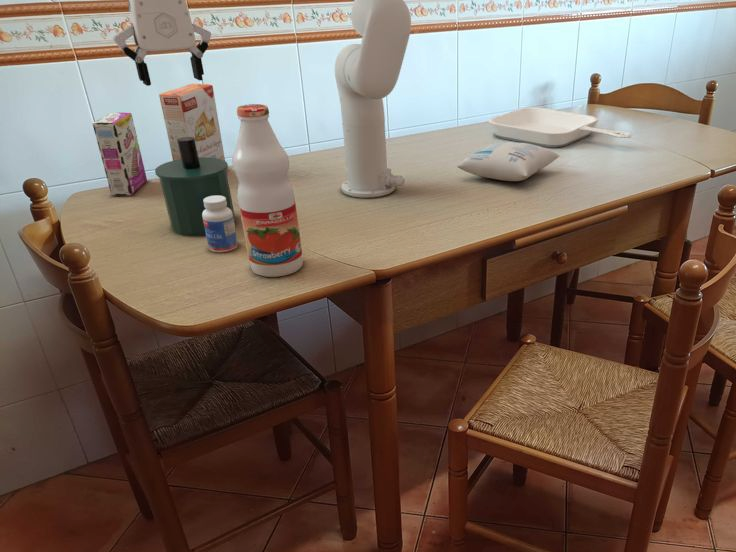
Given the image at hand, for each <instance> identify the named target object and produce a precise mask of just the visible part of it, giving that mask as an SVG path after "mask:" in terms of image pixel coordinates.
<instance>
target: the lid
mask: <svg viewBox="0 0 736 552" xmlns="http://www.w3.org/2000/svg"><path fill="white" fill-rule="evenodd" d="M177 142H178V146H179V151H180V155H181V159H179V160H174V161H173V160H171V161H167V162H164V163H162V164H160V165H158V166H157V167H156V168H155V169H154V172H155V175H156V176H157V177H158V178H159V177H160V178H162V179H167V180H178V181H183V180H197V179H204V178H209V177H213V176H216V175H219V174H221V173H223V172H225V171H226V172H227V170H228V168H229V164H228V162H227V161H226V160H225V161H224V160H221V159H217V158H208V157H198V153H197V148H196V143H195V138H194V137H181V138H178V139H177ZM160 178H159V179H160Z"/></svg>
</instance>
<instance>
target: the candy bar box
mask: <svg viewBox="0 0 736 552" xmlns="http://www.w3.org/2000/svg"><path fill="white" fill-rule="evenodd" d="M92 127H93V132H94V134H95V135H94V136H95V138H96V143H97V146H98V150H99V155H100V157H101V161H102V163H103V169H104V172H105V176H106V180H107V183H108V187H109V191H110V195H111V197H131V196H133V195H135V193H136V192H138V191H139V190H140V189H141V188H142V187H143V186H144V185H145V184H147V182H148V178H147V174H146V169H145V165H144V162H143V157H142V152H141V149H140V144H139V139H138V135H137V130H136V127H135V122H134V119H133V114H132V112H110V113H108V114H107V115H105V116H103V117H101V118H99V119H98V120H96V121H94V122H92Z"/></svg>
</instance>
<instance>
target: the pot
mask: <svg viewBox="0 0 736 552" xmlns="http://www.w3.org/2000/svg"><path fill="white" fill-rule="evenodd" d="M158 178H159V183H160V186H161V190H162V194H163V198H164V201H165V202H164V203H165V206H166V211H167V214H168V219H169V222H170V227H171V229H172V231H173V232H174V233H176V234H178V235H182V236H185V237H186V236H188V237H202V236H206V232H205V227H204V222H203V217H202V213H203V211H204V210H205V209H206V208H205V207H204V202H203V200H204V198H206V197H209V196H224V197H225V198H226V201H227V206H226V207H228V208H229V209H231V211H232V214H233V219H234V225H236V224H235V223H236V214H235V210H234V204H233V200H232V193H231V188H230V184H229V179H228V178H229V177H228V172H227V170H226V171H225V172H223V173H221V174H219V175H216V176H213V177H209V178H204V179H197V180H183V181H178V180H167V179H162V178H160V177H158Z"/></svg>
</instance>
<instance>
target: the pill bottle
mask: <svg viewBox="0 0 736 552" xmlns="http://www.w3.org/2000/svg"><path fill="white" fill-rule="evenodd" d="M203 202H204V207H205V208H206V209H205V210H204V211H203V213H202V217H203V222H204V227H205V232H206V235H205V238H206V243H207V246H208V249H209V250H210V252H211V251H212V252H214V253H227V252H231V251H233V250H236V248H238V237H237V232H236V231H237V230H236V226H235V225H236V224H234V219H233V214H232V211H231V209H229V208H228V207H226V206H227V201H226V198H225V197H224V196H209V197H206V198H204V200H203Z"/></svg>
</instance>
